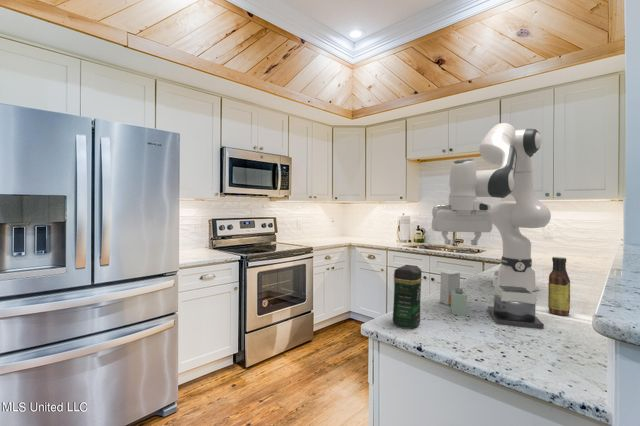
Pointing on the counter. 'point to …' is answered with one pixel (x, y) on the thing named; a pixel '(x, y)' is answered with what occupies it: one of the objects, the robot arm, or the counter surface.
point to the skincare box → (448, 285)
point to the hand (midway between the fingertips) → (460, 244)
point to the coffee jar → (407, 296)
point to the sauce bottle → (559, 288)
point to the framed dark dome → (515, 307)
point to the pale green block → (458, 302)
